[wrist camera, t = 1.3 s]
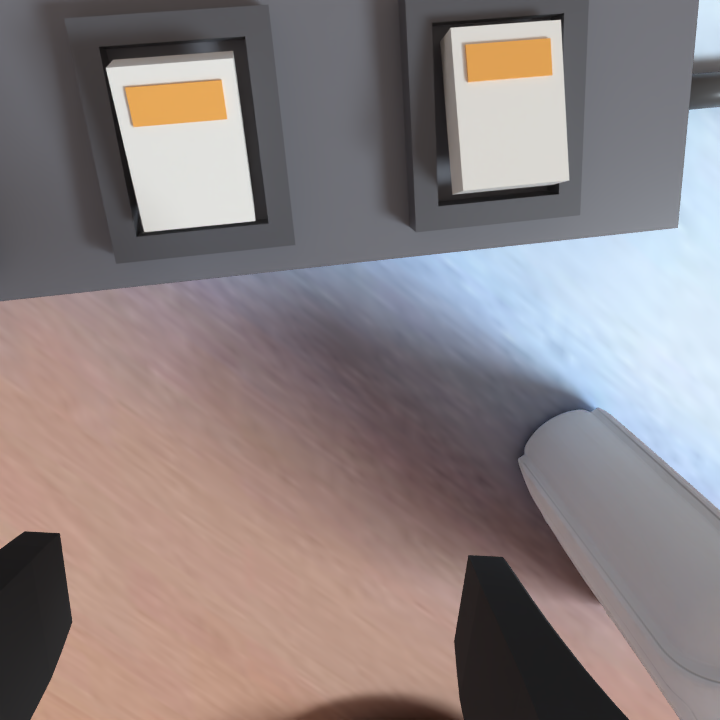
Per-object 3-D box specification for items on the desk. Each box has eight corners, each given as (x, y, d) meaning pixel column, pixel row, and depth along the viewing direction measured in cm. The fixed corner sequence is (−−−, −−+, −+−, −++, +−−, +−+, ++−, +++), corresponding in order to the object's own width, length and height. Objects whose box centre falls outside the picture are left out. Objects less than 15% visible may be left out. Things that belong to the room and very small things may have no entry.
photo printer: (701, 568, 28) (1011, 892, 16) (611, 622, 28) (852, 977, 17) (597, 382, 24) (905, 634, 13) (495, 447, 24) (704, 751, 13)
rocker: (452, 194, 17) (464, 190, 16) (440, 41, 16) (451, 27, 15) (552, 184, 17) (570, 179, 16) (543, 33, 17) (562, 18, 16)
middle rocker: (149, 216, 17) (144, 233, 16) (112, 59, 15) (105, 68, 14) (254, 206, 17) (255, 222, 16) (232, 50, 15) (232, 58, 14)
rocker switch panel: (-242, 303, 19) (-354, 347, 16) (-355, 30, 17) (-519, 11, 13) (781, 195, 23) (878, 212, 19) (816, -46, 20) (936, -78, 16)
